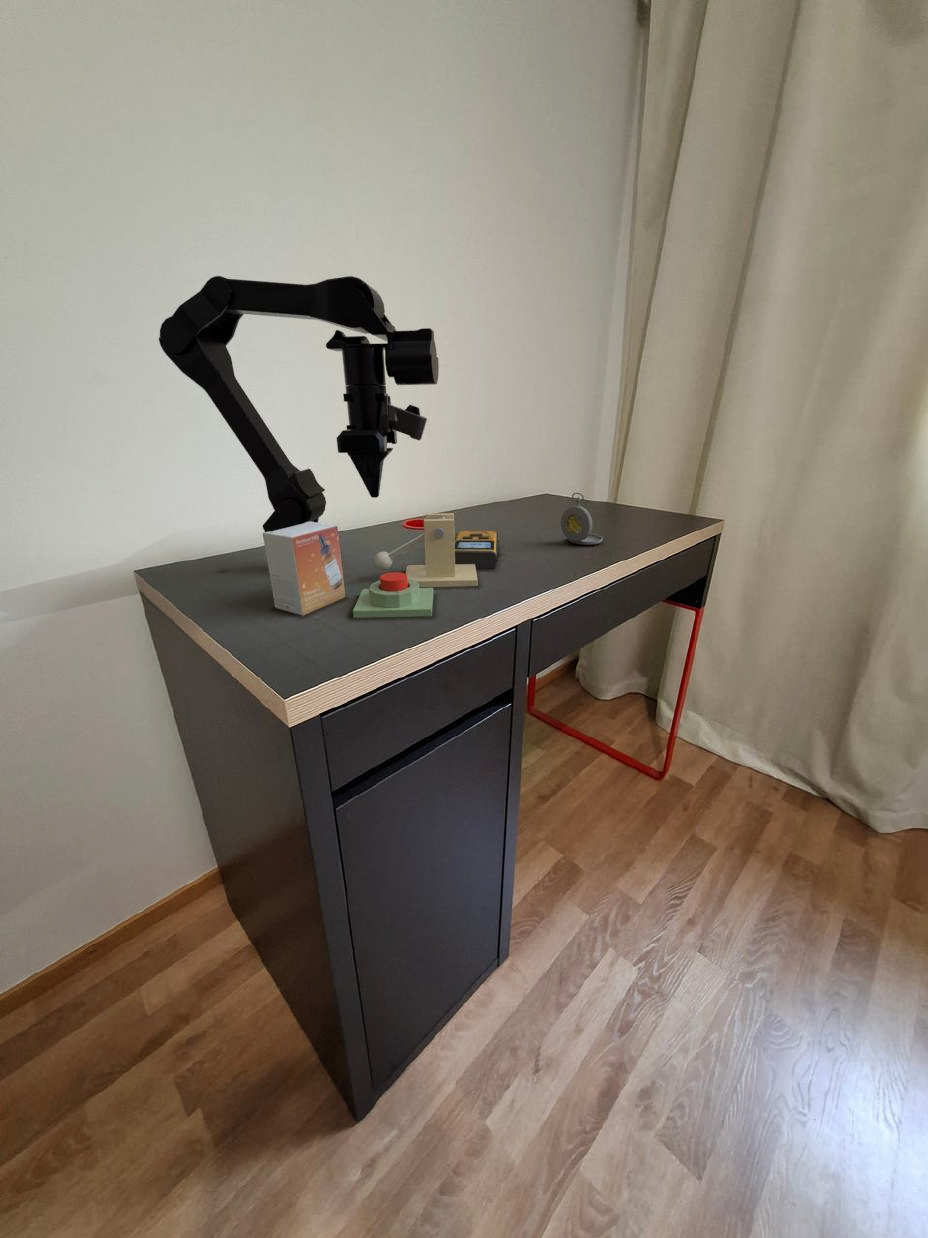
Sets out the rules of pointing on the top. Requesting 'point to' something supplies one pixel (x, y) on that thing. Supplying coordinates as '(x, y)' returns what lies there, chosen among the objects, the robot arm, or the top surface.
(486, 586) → the top surface
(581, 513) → the pocket watch
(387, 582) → the button
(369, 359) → the robot arm
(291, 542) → the small box
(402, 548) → the lever
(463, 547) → the electronic device
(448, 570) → the bracket
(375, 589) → the button block
